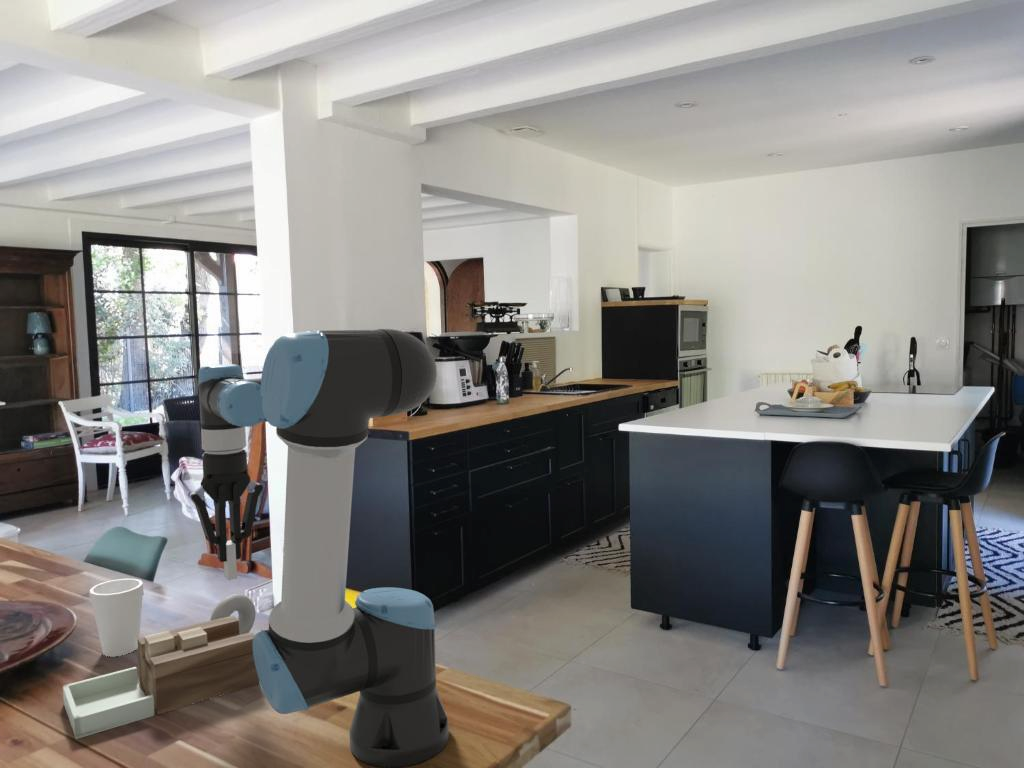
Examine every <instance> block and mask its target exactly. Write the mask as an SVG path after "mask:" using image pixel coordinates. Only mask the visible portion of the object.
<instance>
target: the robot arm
mask: <svg viewBox="0 0 1024 768" xmlns="http://www.w3.org/2000/svg"><path fill="white" fill-rule="evenodd" d="M437 372H438V370H437V363H436V359H435V357H434V356H433V353H432V351H430V349H429V347H427V345H426V344H425V343H424V342H423V341H422V340H420V339H419V338H418V337H417V336H415V335H412V334H411V333H408V332H406V331H405V332H404V331H401V330H399V329H391V328H379V329H354V330H353V329H349V330H340V329H339V330H317V329H312V330H307V331H301V332H290V333H286V334H283V335H281V336H280V337H278V338H277V339H276V340H275V341H274V343H273V344H272V345H271V346H270V348H269V349H268V352H267V354H266V356H265V359H264V362H263V366H262V372H261V377H260V378H247V379H246V378H245V377H244V371H243V368H242V366H241V365H238V364H234V363H233V364H232V363H231V364H230V363H229V364H228V363H227V364H225V363H224V364H221V363H220V364H208V365H203V366H201V367H200V368H199V369H198V381H197V388H198V396H199V415H200V416H199V417H200V430H201V431H200V434H201V437H200V438H201V449H202V450H203V451H204V452H203V454H202V455H201V456H202V457H201V459H202V475H203V476H202V480H201V482H200V486H199V487H198V488H197V489H195V490H193V491H190V492H189V493H188V494H187V495H188V498H189V499H190V500H191V502H193V504H194V507H195V509H196V513H197V516H198V519H199V523H200V525H201V527H202V531H203V535H204V538H205V540H206V541H208V542H209V543H210V544H213V545H214V544H216V548H217V549H216V550H217V559H218V561H219V562H220V563H223V574H224V575H223V577H225V579H227V580H228V581H230V580H236V579H238V571H237V570H238V569H237V560H239V559H241V557H242V545H241V544H242V542H243V540H244V539H245V538H250V537H251V536H252V535H251V534H252V531H253V526H254V519H255V514H256V509H257V505H258V500H259V496H260V495H261V493H262V492H263V489H264V486H263V485H262V484H261V483H259V482H255V481H253V480H251V476H250V474H249V473H248V456H247V451H246V449H244V448H246V446H247V436H246V435H247V433H246V427H249V428H250V427H255V426H258V424H261V423H266V422H268V424H269V425H270V426H272V427H275V428H276V430H275V431H276V432H275V433H276V436H277V437H278V438H279V439H280V440H281V441H282V442H283V444H285V445H286V446H287V461H286V484H285V487H286V488H285V507H284V508H285V509H284V510H285V511H284V528H283V529H284V531H283V553H282V554H283V555H282V558H283V559H282V580H281V597H280V599H281V600H280V601H279V602H278V603H277V604H275V605H274V607H273V608H272V609H271V610H270V613H269V618H268V629H266V630H265V629H261V630H260V632H256V634H254V638H253V643H252V646H253V656H254V662H255V666H256V670H257V674H258V677H259V683H260V684H259V685H260V687H261V689H262V692H263V693H264V696H265V698H266V700H267V703H268V704H269V706H270V707H271V708H272V709H273V710H274V711H275V712H276V713H278V714H281V715H289V714H292V713H296V712H300V711H307V710H309V709H310V708H312V707H315V706H316V707H317V706H319V705H322V704H325V703H327V702H330V701H334V700H336V699H340V698H343V697H346V696H349V695H353V694H355V693H358V692H359V697H358V701H357V704H356V706H355V707H356V708H355V711H354V714H353V718H352V720H351V725H350V728H349V748H350V750H351V753H352V754H353V756H355V757H356V758H357V759H358V760H360V761H361V762H363V763H365V764H369V765H371V766H375V767H383V768H398V767H407V766H411V765H416V764H419V763H422V762H424V761H427V760H429V759H431V758H433V757H434V756H436V755H437V754H439V753H440V752H441V751H442V750H443V749H444V748H445V747H446V745H447V744H448V741H449V738H450V733H449V719H448V716H447V713H446V711H445V707H444V706H443V703H442V700H441V697H440V694H439V692H438V690H437V678H436V677H437V676H436V674H437V673H436V672H437V670H436V669H437V667H436V663H437V662H436V627H437V625H436V620H435V612H434V604H433V603H432V601H431V599H430V598H429V597H427V596H426V595H425V594H423V593H421V592H419V591H416V590H413V589H408V588H402V587H387V586H385V587H376V588H375V587H374V588H373V587H372V588H369V589H366V590H363V591H362V592H360V593H359V594H358V595H357V596H356V599H355V602H354V604H355V607H353V606H352V605H351V604H350V603H349V602H347V601H346V588H347V587H346V586H347V573H348V562H349V560H348V559H349V546H350V531H351V530H350V529H351V515H352V504H353V503H352V501H353V500H352V499H353V488H354V485H353V484H354V471H355V457H356V456H355V455H356V448H358V447H359V446H360V445H362V443H364V442H365V441H366V440H367V439H368V437H369V436H368V435H369V427H370V426H369V425H370V420H371V419H374V418H382V417H388V416H390V417H391V416H396V415H400V414H404V413H407V412H409V411H412V410H414V409H416V408H417V407H419V406H420V405H422V404H423V403H424V402H425V401H427V399H428V398H429V397H430V396H431V394H432V392H433V391H434V389H435V386H436V383H437V376H438V375H437V374H438V373H437ZM245 491H247V495H246V500H245V506H244V511H243V514H242V515H243V516H242V520H241V498H242V496H243V494H244V492H245ZM205 493H206V494H207V495H208V496H209V497H210V498H211V500H213V506H214V524H215V530H214V527H213V524H212V521H211V518H210V515H209V512H208V508H207V506H206V503H205V502H204V500H205V499H206V495H205ZM227 503H228V509H229V510H228V512H229V531H230V540H227V539H228V538H227V535H228V534H227V515H226V513H227V512H226V508H227Z"/></svg>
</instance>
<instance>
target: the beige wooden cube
mask: <svg viewBox="0 0 1024 768" xmlns="http://www.w3.org/2000/svg"><path fill="white" fill-rule="evenodd" d="M177 636H178V651H179V650H183V649H187V648H191V647H195V646H199V645H203V644H207V633H206V632H205V631H204V630H203V629H202V628H201V627H198V628H194V629H190V630H186V631H182V632H178V633H177Z"/></svg>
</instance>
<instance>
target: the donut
mask: <svg viewBox="0 0 1024 768" xmlns="http://www.w3.org/2000/svg"><path fill="white" fill-rule="evenodd" d="M234 612H237V614H238V617H237V619H238V620H239V633H240V634H241V635H242V634H245V633H249V632H251V630H252V628H253V626H254V624H255V620H256V607H255V603H254V602H253V600H252V598H249V596H247V595H245V594H241V593H234V594H233V593H232V594H229V595H228V596H226V597H224V598H223V599H221V600H220V601H219V602H218V603H217V604H216V606H215V608H214V609H213V611H212V613H211V616H210V620H209V621H212V620H216V619H220V618H224V617H228V616H232V614H233V613H234Z"/></svg>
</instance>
